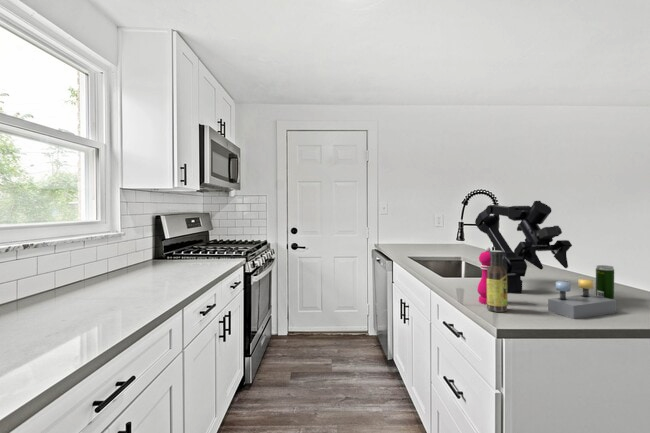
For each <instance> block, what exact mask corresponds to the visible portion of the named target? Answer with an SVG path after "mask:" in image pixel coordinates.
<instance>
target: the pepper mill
mask: <svg viewBox="0 0 650 433" xmlns="http://www.w3.org/2000/svg"><path fill="white" fill-rule="evenodd" d="M484 249H485V250H484V251H482V252H481V253H480V254H479V256H478V261H479V262H480V269H481V278H480V280H479V282H478V285H477V293H478V294H479V296H478V302H479V303H480V304H483V303H484V304H483V305H487V270H488V268H489V267H490V265H491V263H490V262H491V256H490V251H491V247H489V246H487V247H485V248H484Z"/></svg>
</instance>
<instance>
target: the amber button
mask: <svg viewBox="0 0 650 433" xmlns="http://www.w3.org/2000/svg"><path fill="white" fill-rule="evenodd" d="M578 288H579V289H582V295H583V297H586V298H587V297H589V291H590V290H592V289H593V288H594V280H593V279H591V278H590V279H588V278H579V279H578Z"/></svg>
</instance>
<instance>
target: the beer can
mask: <svg viewBox="0 0 650 433" xmlns="http://www.w3.org/2000/svg"><path fill="white" fill-rule="evenodd" d="M595 296H600V297H604V298H609V299H613V300H615V299H614V298H615V269H614V266H612V265H603V264H602V265H599V264H598V265H596V268H595Z"/></svg>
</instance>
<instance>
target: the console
mask: <svg viewBox="0 0 650 433" xmlns="http://www.w3.org/2000/svg"><path fill="white" fill-rule="evenodd" d="M547 311H548V312H550V313H553V314H557V315H560V316H562V317H566V318H570V319H573V320H574V319H575V320H577V319H582V318H588V317H595V316H601V315H610V314H614V313H615V314H616V313H617V300H616V299H609V298H604V297H600V296H596V294H591V293H590V294H589V297H587V298H586V297H583V294H578V295H570V296H566V300H560V297H554V298H547Z"/></svg>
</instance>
